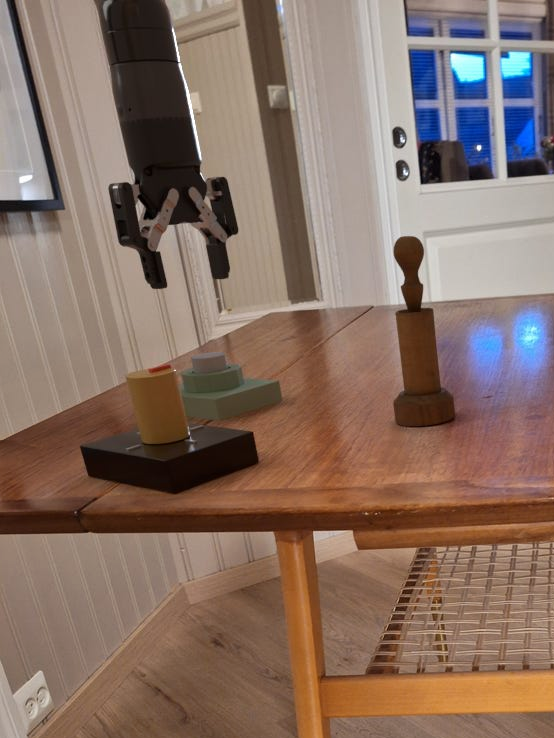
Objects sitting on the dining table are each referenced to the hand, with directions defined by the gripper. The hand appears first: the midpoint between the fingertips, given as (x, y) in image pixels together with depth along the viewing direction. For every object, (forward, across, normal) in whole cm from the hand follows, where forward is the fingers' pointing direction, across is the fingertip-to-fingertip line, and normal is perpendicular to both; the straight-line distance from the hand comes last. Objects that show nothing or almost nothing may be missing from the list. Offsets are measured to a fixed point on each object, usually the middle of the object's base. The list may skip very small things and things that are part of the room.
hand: (191, 283), depth 98 cm
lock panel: (+14, -19, -16) cm, 29 cm away
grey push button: (+10, +1, +1) cm, 10 cm away
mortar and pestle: (+14, +6, -28) cm, 32 cm away
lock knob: (+11, -19, -16) cm, 27 cm away
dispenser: (+14, +1, +1) cm, 14 cm away
